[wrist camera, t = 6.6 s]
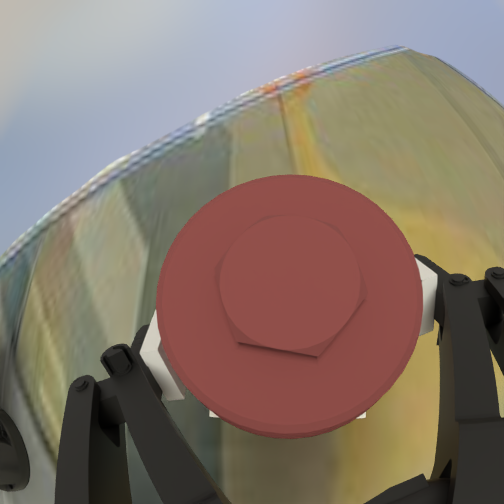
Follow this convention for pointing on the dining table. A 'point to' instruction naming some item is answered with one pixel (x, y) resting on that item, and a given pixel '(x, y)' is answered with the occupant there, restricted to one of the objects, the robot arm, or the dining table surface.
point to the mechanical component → (289, 305)
